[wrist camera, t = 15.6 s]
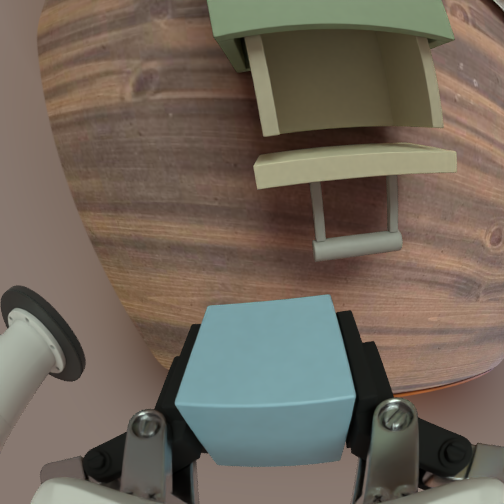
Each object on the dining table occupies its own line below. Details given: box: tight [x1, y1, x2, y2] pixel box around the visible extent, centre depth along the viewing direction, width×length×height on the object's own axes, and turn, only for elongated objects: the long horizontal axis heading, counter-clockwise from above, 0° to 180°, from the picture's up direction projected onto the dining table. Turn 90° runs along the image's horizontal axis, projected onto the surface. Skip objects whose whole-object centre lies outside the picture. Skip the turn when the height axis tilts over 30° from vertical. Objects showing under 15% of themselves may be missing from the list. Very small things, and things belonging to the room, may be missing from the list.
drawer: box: [244, 29, 457, 262], centre depth 14 cm, size 19×11×7 cm, turn 10°
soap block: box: [175, 294, 356, 467], centre depth 8 cm, size 4×4×4 cm
